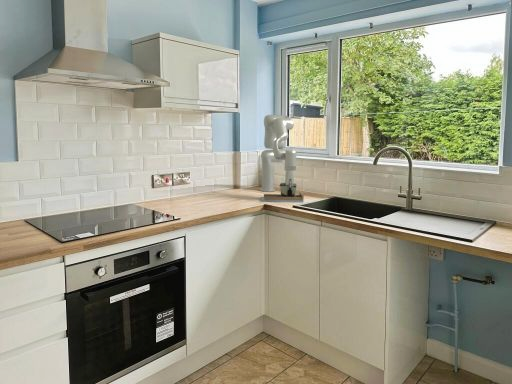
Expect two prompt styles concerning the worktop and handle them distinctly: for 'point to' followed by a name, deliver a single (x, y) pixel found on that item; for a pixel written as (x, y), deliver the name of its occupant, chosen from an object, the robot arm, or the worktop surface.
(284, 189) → the food container
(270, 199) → the keyway board
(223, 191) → the worktop surface
